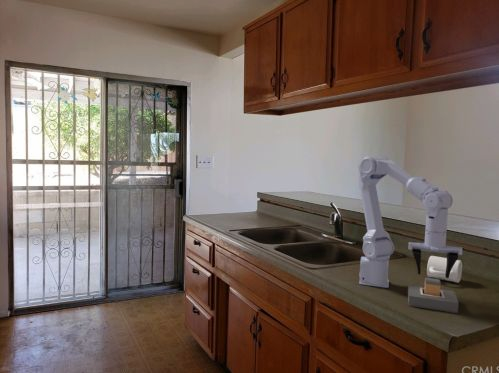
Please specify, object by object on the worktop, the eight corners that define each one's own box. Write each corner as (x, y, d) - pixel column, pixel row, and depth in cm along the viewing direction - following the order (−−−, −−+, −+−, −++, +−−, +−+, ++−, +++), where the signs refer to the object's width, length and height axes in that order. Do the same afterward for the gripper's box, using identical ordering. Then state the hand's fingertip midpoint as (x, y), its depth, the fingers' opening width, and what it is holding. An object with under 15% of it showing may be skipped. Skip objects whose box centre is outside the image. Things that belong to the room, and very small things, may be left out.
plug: (424, 303, 115) (425, 281, 115) (423, 299, 119) (425, 277, 119) (439, 306, 114) (440, 283, 113) (437, 301, 118) (439, 279, 117)
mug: (432, 274, 146) (433, 253, 146) (461, 280, 140) (462, 258, 139) (423, 281, 137) (424, 259, 136) (454, 288, 131) (455, 265, 130)
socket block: (408, 305, 114) (409, 295, 113) (407, 293, 124) (408, 284, 123) (457, 313, 109) (458, 302, 109) (452, 300, 119) (453, 290, 119)
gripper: (409, 230, 113) (407, 275, 115) (465, 235, 108) (461, 282, 109) (409, 227, 120) (406, 269, 121) (461, 231, 115) (458, 275, 116)
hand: (432, 275), depth 116 cm, fingers open, 7 cm apart
